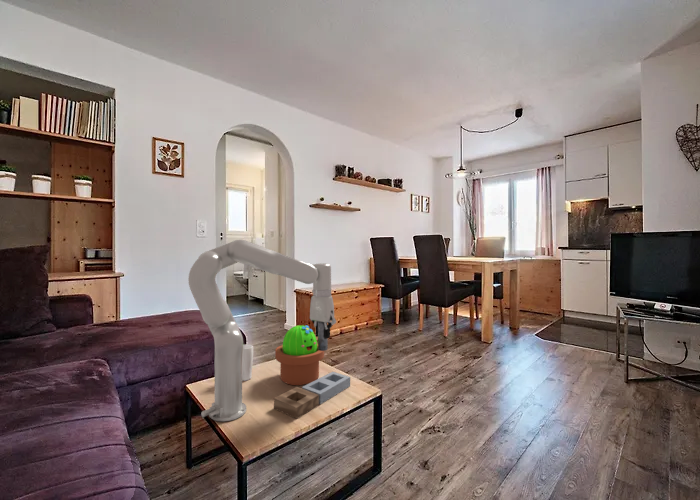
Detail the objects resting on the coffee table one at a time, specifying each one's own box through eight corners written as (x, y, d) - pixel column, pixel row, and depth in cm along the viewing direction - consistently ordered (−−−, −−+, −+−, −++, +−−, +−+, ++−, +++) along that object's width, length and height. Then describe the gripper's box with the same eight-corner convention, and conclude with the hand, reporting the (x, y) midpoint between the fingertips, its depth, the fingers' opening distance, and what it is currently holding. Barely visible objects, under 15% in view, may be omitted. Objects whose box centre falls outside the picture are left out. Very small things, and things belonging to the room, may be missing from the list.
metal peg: (323, 351, 130) (322, 317, 130) (316, 349, 133) (315, 316, 132) (329, 348, 133) (329, 315, 133) (322, 347, 136) (322, 314, 135)
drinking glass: (234, 378, 147) (235, 346, 147) (248, 374, 152) (248, 343, 152) (242, 383, 142) (242, 349, 142) (255, 378, 147) (256, 346, 147)
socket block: (296, 418, 114) (296, 407, 114) (273, 408, 121) (273, 398, 121) (318, 405, 124) (318, 395, 124) (296, 396, 131) (296, 386, 131)
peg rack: (320, 404, 125) (320, 394, 124) (301, 396, 130) (301, 387, 130) (350, 386, 141) (350, 377, 141) (332, 380, 147) (332, 371, 147)
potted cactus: (267, 376, 150) (267, 323, 149) (305, 365, 165) (306, 316, 164) (292, 393, 134) (292, 333, 133) (332, 378, 148) (333, 325, 148)
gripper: (301, 292, 134) (302, 335, 135) (331, 296, 124) (332, 343, 125) (313, 290, 140) (314, 331, 141) (343, 293, 130) (344, 338, 131)
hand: (322, 336), depth 133 cm, fingers closed on metal peg, 4 cm apart
